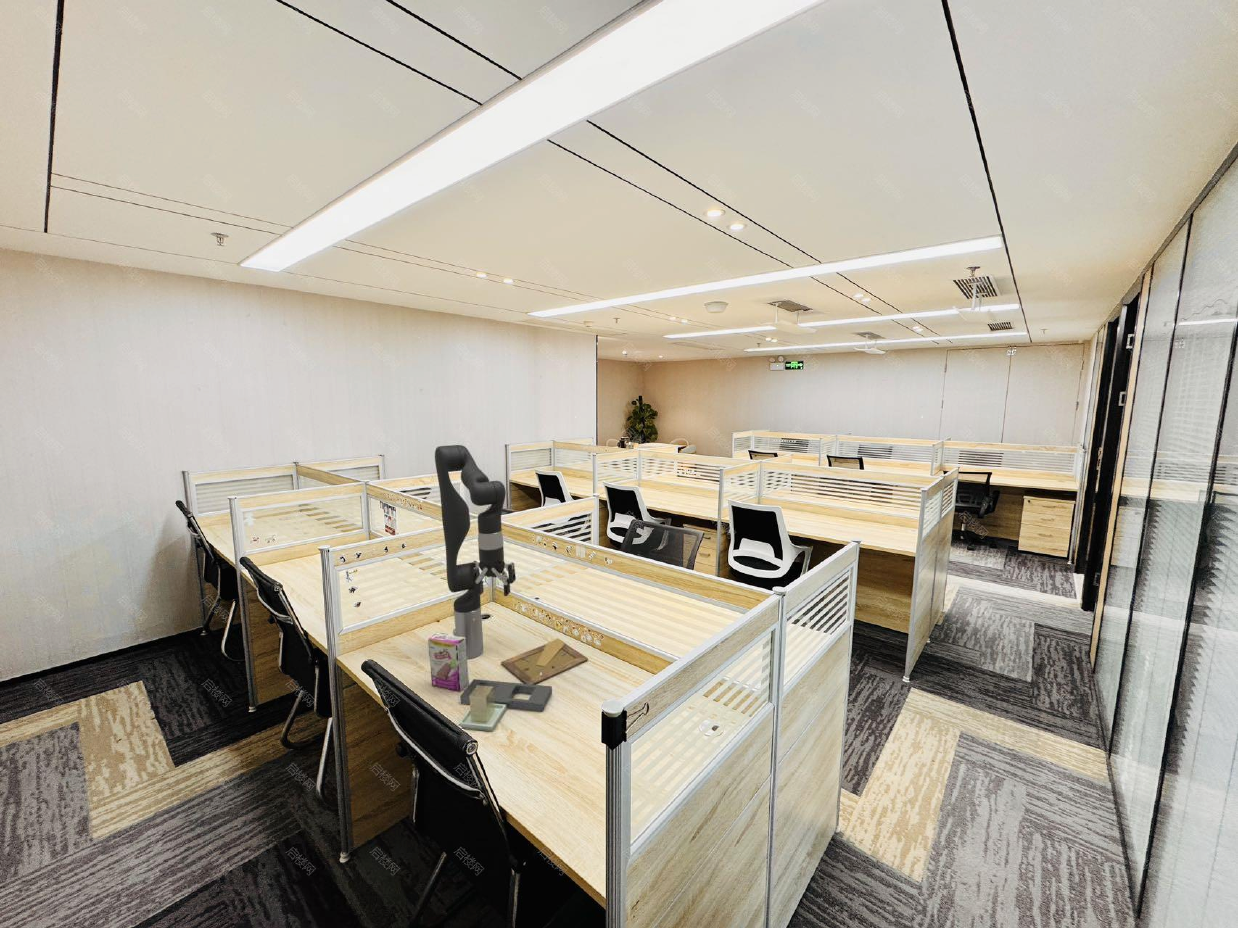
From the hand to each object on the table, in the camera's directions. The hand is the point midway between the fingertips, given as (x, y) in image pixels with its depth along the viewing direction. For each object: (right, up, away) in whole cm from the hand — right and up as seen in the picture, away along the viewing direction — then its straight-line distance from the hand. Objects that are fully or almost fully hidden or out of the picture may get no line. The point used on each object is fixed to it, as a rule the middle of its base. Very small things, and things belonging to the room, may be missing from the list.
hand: (493, 594), depth 160 cm
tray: (0, -32, -13) cm, 35 cm away
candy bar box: (-15, -30, +3) cm, 34 cm away
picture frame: (+14, -29, +16) cm, 35 cm away
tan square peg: (0, -32, -13) cm, 35 cm away
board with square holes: (+5, -31, -4) cm, 32 cm away
